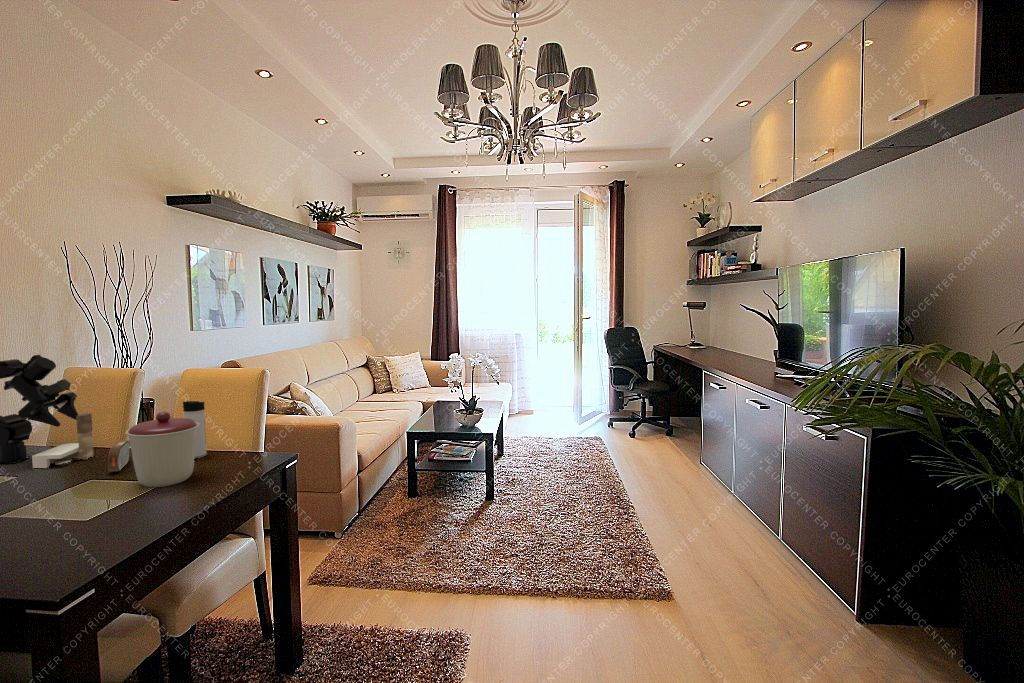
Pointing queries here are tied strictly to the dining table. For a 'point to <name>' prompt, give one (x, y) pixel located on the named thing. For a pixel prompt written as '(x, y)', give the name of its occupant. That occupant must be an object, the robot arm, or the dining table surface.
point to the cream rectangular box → (54, 454)
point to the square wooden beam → (82, 438)
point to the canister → (163, 450)
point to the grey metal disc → (63, 461)
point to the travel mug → (197, 413)
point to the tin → (118, 455)
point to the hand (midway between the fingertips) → (69, 422)
